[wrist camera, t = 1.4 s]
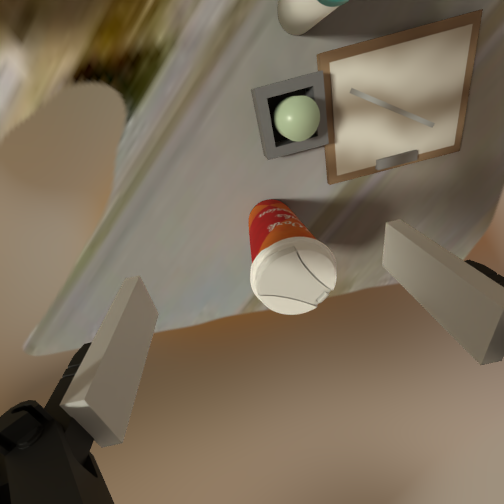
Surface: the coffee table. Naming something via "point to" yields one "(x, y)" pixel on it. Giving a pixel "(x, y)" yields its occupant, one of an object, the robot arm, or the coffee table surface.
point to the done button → (296, 117)
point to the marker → (304, 13)
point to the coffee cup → (288, 260)
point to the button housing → (270, 147)
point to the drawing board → (398, 97)
